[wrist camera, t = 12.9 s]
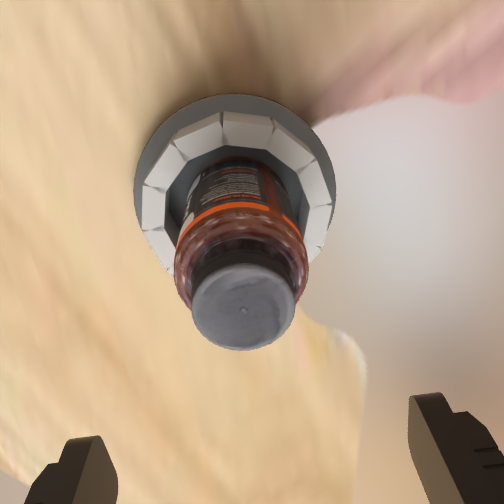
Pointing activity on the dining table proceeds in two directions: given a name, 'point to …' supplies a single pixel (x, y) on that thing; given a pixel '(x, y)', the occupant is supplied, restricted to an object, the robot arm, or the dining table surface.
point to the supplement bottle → (240, 255)
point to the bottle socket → (231, 145)
